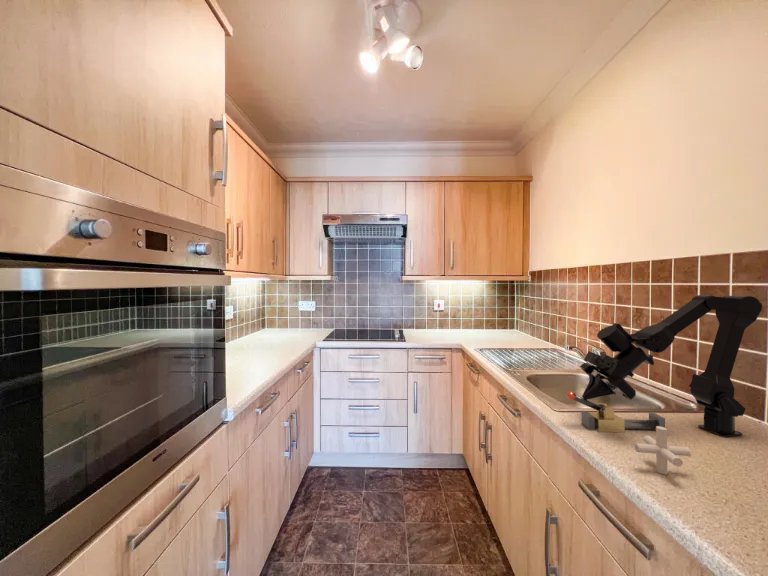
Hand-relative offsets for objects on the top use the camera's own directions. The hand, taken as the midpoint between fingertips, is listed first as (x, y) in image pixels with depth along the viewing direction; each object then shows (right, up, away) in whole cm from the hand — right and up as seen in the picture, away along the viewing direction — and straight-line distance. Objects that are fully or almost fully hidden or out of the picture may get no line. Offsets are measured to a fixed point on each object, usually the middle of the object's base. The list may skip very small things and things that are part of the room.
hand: (583, 398), depth 93 cm
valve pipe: (+11, -8, -1) cm, 14 cm away
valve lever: (+7, -4, -1) cm, 8 cm away
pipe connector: (+3, -9, -23) cm, 25 cm away
